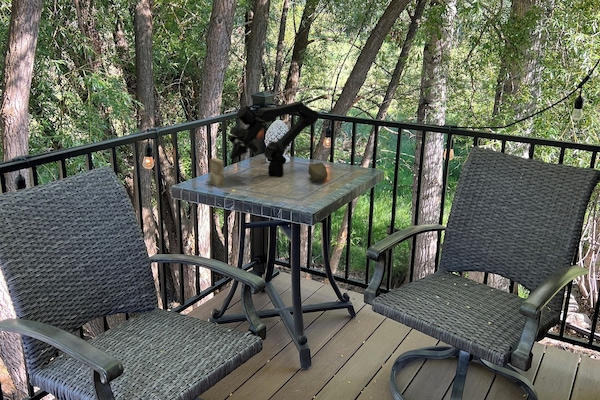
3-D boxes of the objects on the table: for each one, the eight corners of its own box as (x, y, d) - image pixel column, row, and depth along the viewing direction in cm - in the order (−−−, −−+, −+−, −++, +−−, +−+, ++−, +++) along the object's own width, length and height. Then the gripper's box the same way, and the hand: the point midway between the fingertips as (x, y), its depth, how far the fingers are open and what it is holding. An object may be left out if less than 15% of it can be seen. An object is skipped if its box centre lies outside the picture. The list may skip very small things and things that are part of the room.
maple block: (217, 182, 261) (217, 158, 257) (224, 185, 256) (223, 160, 253) (210, 183, 259) (209, 159, 255) (217, 186, 254) (216, 161, 251)
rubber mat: (231, 178, 269) (230, 177, 269) (245, 185, 258) (245, 184, 258) (205, 182, 262) (205, 181, 262) (219, 189, 251) (219, 188, 251)
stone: (306, 175, 275) (306, 159, 272) (324, 175, 275) (325, 158, 273) (310, 185, 259) (310, 168, 256) (330, 185, 259) (330, 167, 257)
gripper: (230, 117, 263) (209, 143, 260) (251, 123, 249) (229, 151, 246) (246, 132, 270) (225, 158, 267) (267, 139, 255) (245, 167, 253)
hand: (230, 158), depth 258 cm, fingers closed
